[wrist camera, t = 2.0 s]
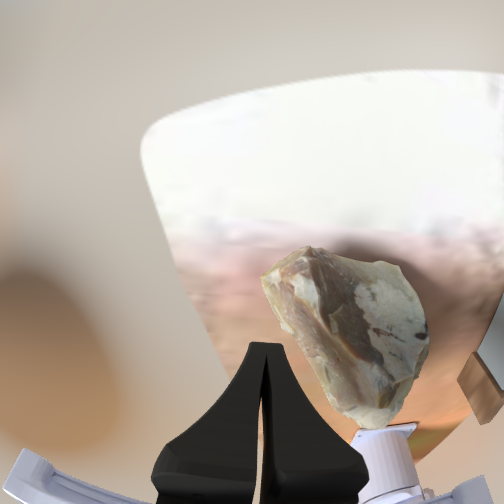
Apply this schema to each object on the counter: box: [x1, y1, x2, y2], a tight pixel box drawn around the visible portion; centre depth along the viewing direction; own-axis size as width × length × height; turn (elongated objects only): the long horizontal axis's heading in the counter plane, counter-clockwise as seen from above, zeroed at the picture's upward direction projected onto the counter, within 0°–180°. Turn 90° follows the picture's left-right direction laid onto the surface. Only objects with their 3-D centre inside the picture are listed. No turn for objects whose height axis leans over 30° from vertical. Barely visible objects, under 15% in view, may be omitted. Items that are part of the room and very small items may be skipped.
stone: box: [260, 245, 430, 430], centre depth 18 cm, size 11×14×10 cm
